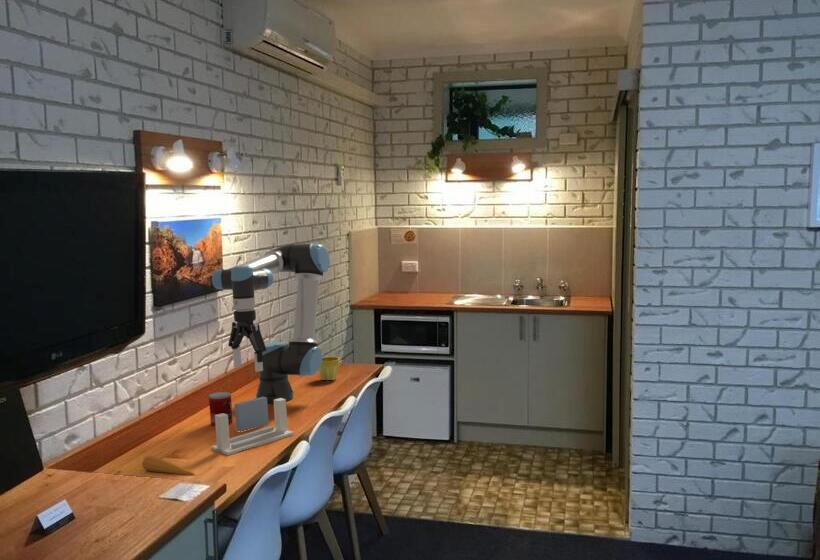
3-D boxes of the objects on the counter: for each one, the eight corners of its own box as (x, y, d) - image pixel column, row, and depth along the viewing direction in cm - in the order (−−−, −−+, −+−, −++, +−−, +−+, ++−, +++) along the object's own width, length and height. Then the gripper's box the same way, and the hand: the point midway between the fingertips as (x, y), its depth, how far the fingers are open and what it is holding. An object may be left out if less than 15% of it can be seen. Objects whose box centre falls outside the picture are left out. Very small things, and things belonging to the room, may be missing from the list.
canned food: (227, 427, 261) (225, 397, 260) (207, 426, 263) (204, 397, 262) (236, 420, 269) (234, 391, 268) (216, 420, 271) (214, 391, 269)
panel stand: (276, 429, 256) (274, 396, 255) (293, 434, 249) (291, 400, 248) (211, 449, 237) (209, 413, 236) (228, 455, 230) (225, 418, 229)
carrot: (141, 472, 219) (138, 460, 217) (150, 462, 223) (147, 451, 221) (196, 486, 213) (194, 475, 211) (205, 476, 217) (203, 465, 215)
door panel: (264, 423, 264) (262, 396, 263) (268, 424, 263) (266, 397, 262) (236, 431, 256) (234, 403, 255) (240, 432, 254) (238, 405, 253)
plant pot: (341, 376, 334) (340, 355, 333) (340, 381, 324) (339, 360, 323) (318, 377, 333) (317, 356, 332) (317, 383, 323) (315, 361, 322)
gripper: (216, 308, 261) (220, 366, 263) (255, 313, 244) (259, 375, 246) (234, 306, 266) (238, 362, 268) (273, 310, 249) (277, 371, 251)
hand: (248, 368), depth 257 cm, fingers open, 13 cm apart
